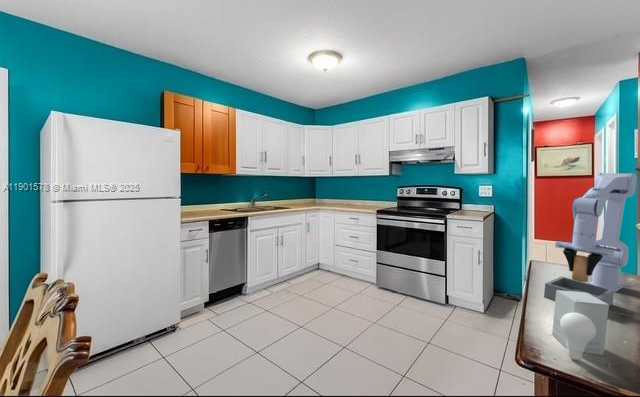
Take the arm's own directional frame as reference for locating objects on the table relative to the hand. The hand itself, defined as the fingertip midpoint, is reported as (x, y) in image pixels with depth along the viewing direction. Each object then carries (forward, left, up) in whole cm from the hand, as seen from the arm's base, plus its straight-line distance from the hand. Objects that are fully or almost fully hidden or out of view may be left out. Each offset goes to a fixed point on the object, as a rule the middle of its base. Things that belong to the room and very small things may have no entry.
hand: (580, 272), depth 96 cm
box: (0, 0, -10) cm, 10 cm away
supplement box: (+33, +10, -10) cm, 36 cm away
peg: (0, 0, -2) cm, 2 cm away
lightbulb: (+41, +12, -10) cm, 44 cm away
